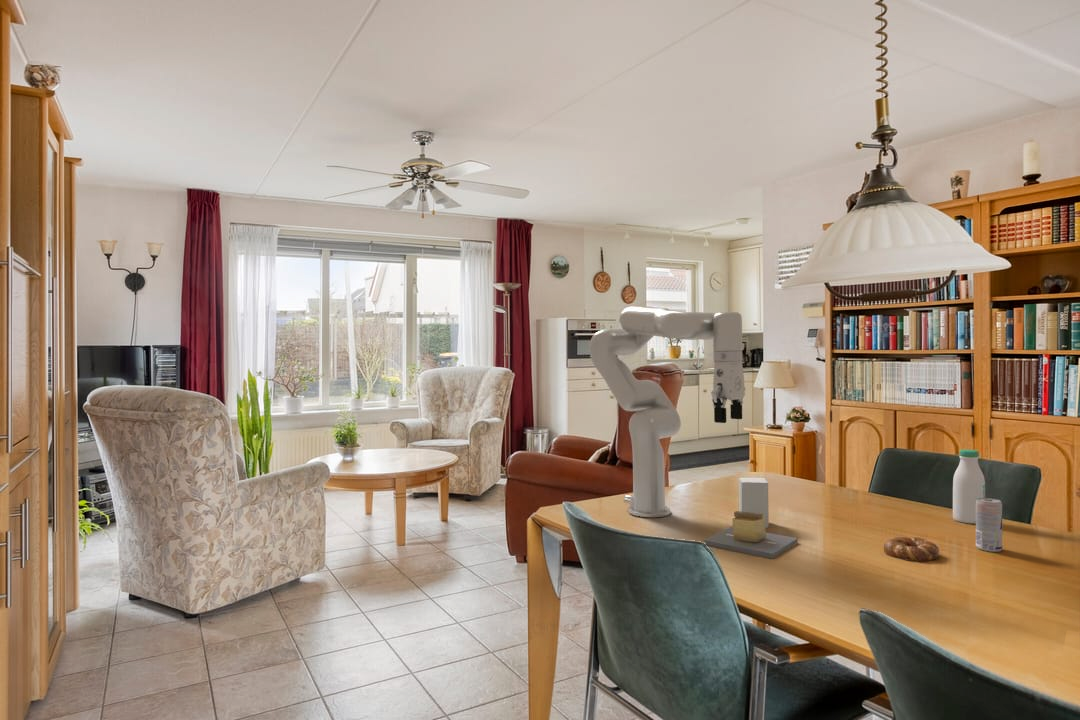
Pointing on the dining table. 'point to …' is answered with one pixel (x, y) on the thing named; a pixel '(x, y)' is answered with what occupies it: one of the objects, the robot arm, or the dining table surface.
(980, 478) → the milk bottle
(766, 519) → the supplement box
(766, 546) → the post base
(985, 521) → the energy drink
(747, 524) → the tan boxy piece
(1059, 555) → the dining table surface
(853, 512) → the dining table surface
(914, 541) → the pretzel
